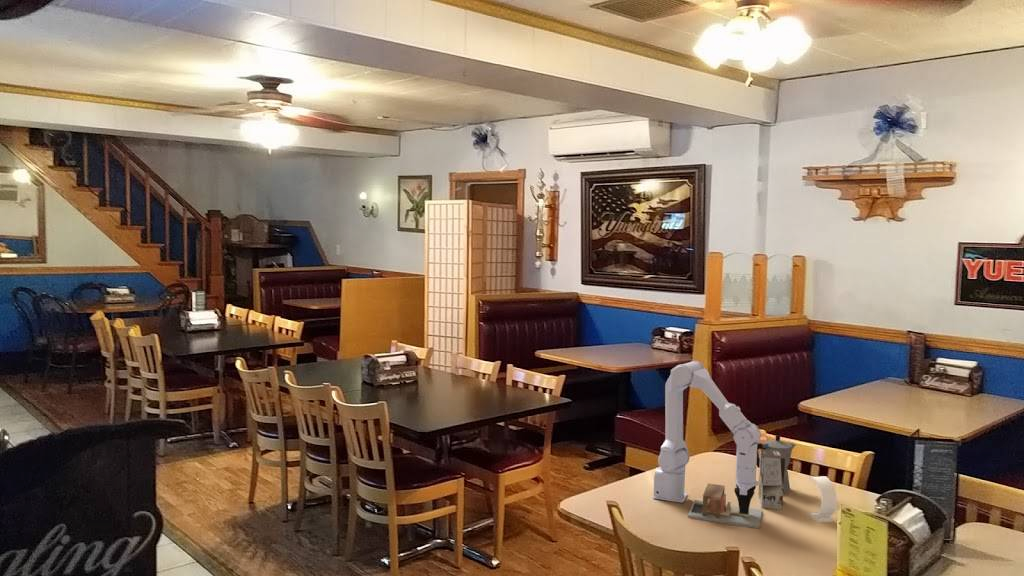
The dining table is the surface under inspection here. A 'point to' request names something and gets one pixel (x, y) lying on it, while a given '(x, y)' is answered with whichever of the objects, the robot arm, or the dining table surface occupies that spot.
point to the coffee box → (771, 478)
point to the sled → (726, 510)
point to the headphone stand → (825, 500)
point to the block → (723, 503)
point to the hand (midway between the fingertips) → (744, 510)
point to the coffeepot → (786, 451)
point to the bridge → (713, 497)
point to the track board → (747, 521)
